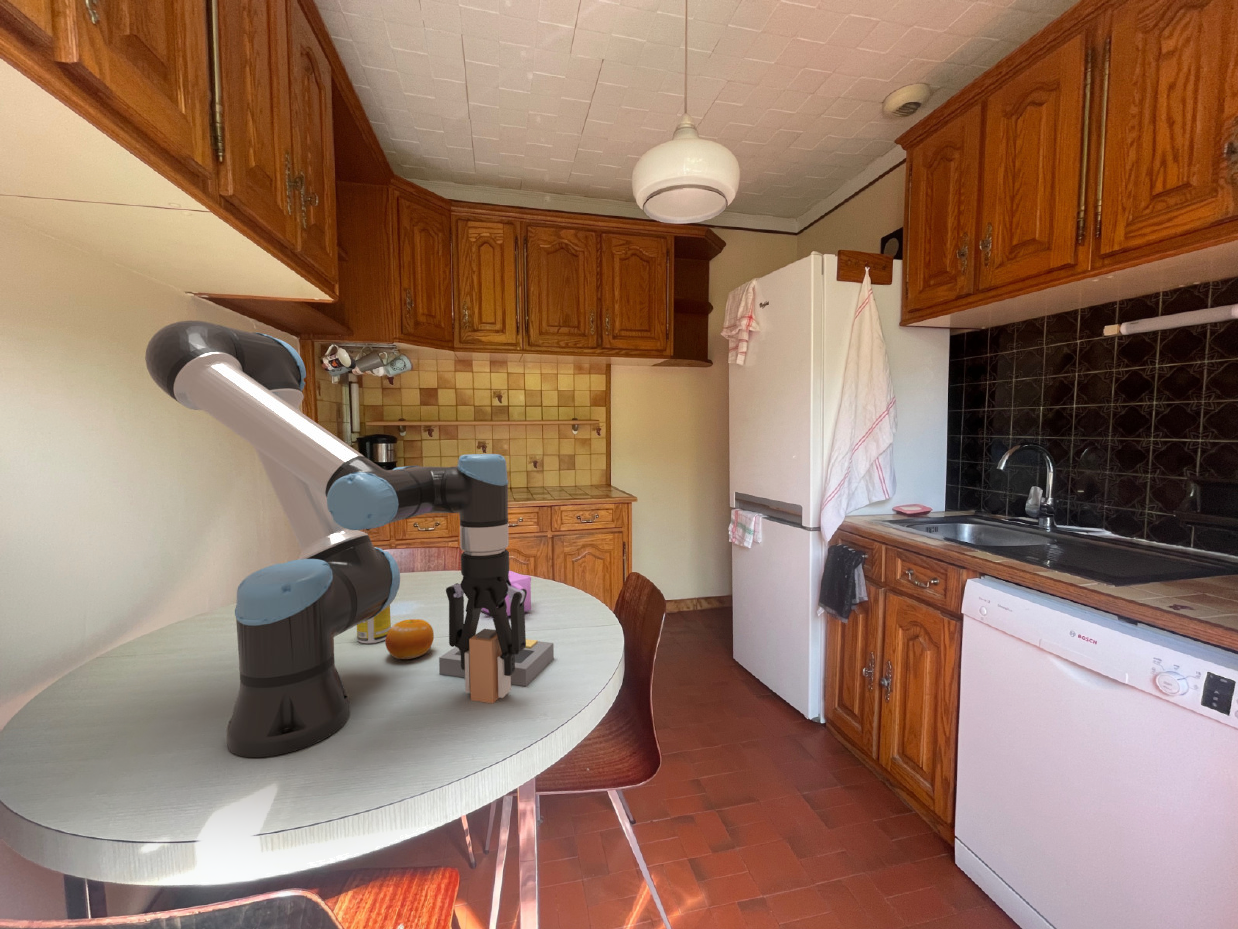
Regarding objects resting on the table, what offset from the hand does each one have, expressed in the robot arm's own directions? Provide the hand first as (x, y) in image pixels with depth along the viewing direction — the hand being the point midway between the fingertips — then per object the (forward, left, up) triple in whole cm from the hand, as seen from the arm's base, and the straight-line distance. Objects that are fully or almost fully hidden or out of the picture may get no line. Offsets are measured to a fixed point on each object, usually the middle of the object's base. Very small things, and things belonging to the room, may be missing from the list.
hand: (488, 690), depth 85 cm
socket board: (+10, +4, -1) cm, 11 cm away
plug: (0, 0, -1) cm, 1 cm away
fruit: (+10, +23, -1) cm, 25 cm away
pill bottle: (+15, +36, -1) cm, 39 cm away
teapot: (+38, +18, -1) cm, 42 cm away
